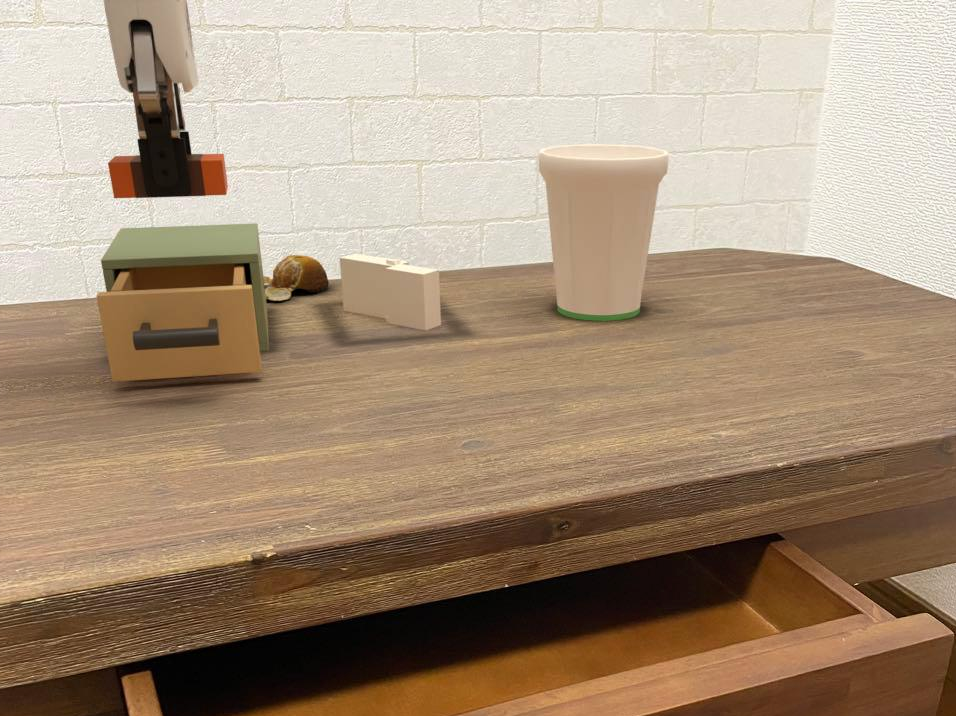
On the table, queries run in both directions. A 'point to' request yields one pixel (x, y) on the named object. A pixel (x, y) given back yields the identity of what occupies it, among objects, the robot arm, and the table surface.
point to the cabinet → (192, 256)
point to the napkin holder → (391, 290)
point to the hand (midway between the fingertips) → (171, 188)
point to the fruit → (295, 277)
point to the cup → (601, 225)
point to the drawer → (180, 322)
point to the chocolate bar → (202, 170)
